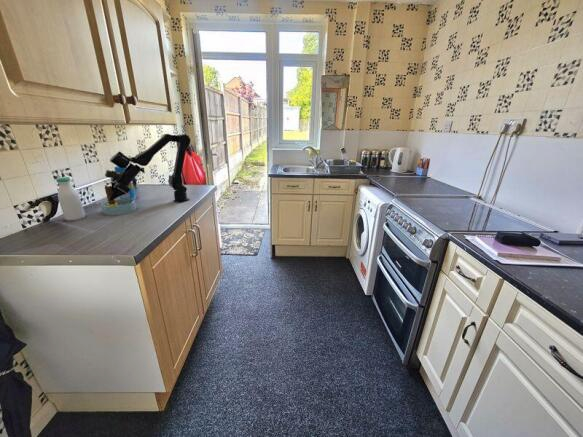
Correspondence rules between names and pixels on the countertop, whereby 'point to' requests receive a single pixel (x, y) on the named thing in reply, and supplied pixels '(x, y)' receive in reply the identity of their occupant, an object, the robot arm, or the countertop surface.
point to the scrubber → (109, 193)
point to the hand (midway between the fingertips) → (109, 197)
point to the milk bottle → (69, 200)
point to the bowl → (119, 207)
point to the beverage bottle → (131, 193)
